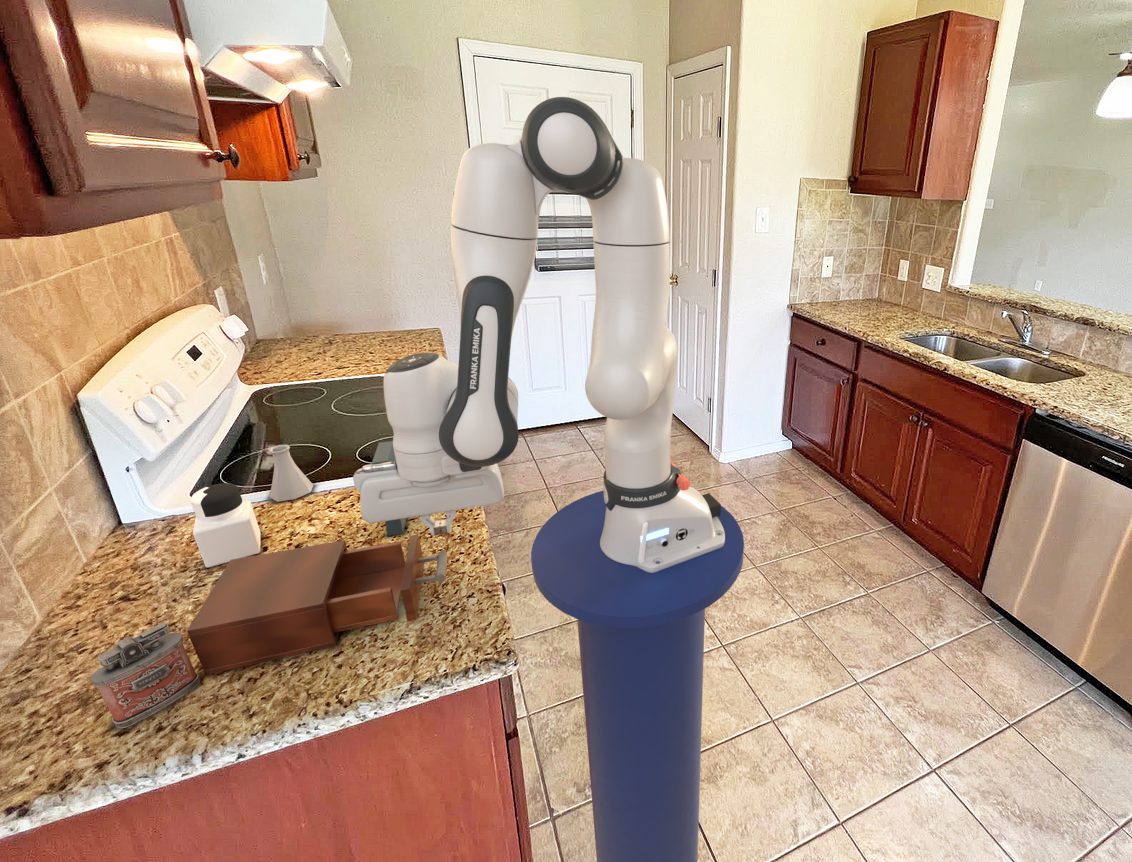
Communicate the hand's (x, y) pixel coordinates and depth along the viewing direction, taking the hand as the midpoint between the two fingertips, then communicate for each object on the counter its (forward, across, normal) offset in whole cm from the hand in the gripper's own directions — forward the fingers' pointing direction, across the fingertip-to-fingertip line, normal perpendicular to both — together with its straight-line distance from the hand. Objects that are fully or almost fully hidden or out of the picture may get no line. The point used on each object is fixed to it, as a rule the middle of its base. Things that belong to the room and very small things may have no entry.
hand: (441, 532), depth 92 cm
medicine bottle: (+8, -34, +16) cm, 39 cm away
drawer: (+6, -8, -6) cm, 12 cm away
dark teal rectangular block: (+7, -9, +16) cm, 20 cm away
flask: (+8, -30, +34) cm, 46 cm away
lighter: (+8, -32, -16) cm, 36 cm away
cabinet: (+7, -21, -6) cm, 23 cm away
